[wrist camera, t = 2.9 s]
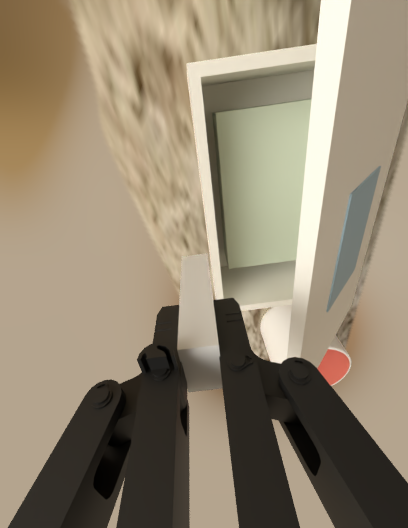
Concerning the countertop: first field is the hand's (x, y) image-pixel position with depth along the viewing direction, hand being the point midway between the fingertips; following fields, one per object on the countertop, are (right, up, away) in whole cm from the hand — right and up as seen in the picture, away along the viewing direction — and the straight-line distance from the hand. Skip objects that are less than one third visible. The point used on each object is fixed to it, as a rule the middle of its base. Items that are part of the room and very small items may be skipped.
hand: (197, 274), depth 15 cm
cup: (+15, -8, +26) cm, 31 cm away
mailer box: (+7, +10, +14) cm, 19 cm away
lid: (+10, +3, +2) cm, 10 cm away
